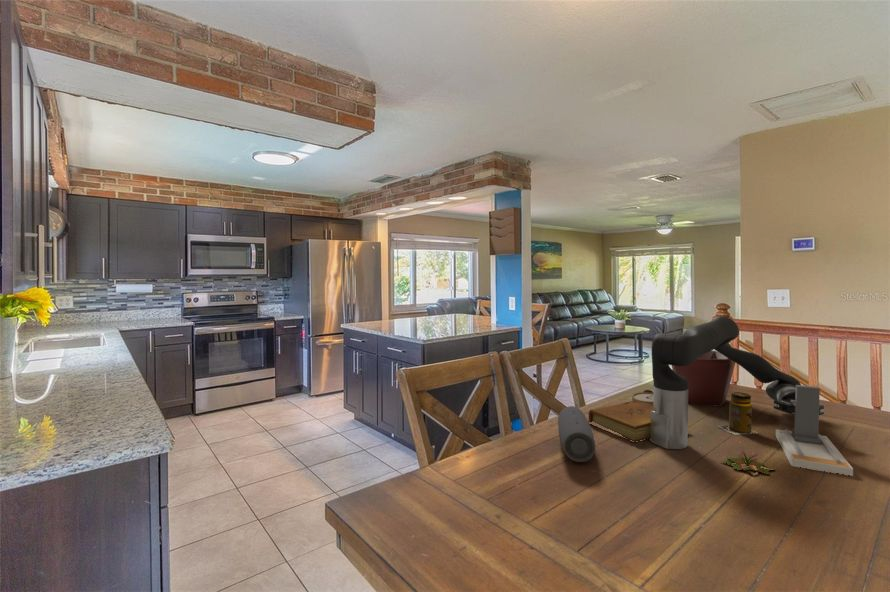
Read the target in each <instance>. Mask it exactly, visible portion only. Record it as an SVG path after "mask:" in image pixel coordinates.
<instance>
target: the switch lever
mask: <svg viewBox="0 0 890 592" xmlns="http://www.w3.org/2000/svg"><path fill="white" fill-rule="evenodd" d="M819 405H820V387H819V386H812V385H802V384H801V385H796V393H795V415H794V431H791V432H792V433H791V435H792V437H793V438H794V440H797V441H804V442H811V443H818V444H821V439H820V437H819V436H818V434H819V425H820V424H819V422H820V421H819V420H820V415H819Z"/></svg>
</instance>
